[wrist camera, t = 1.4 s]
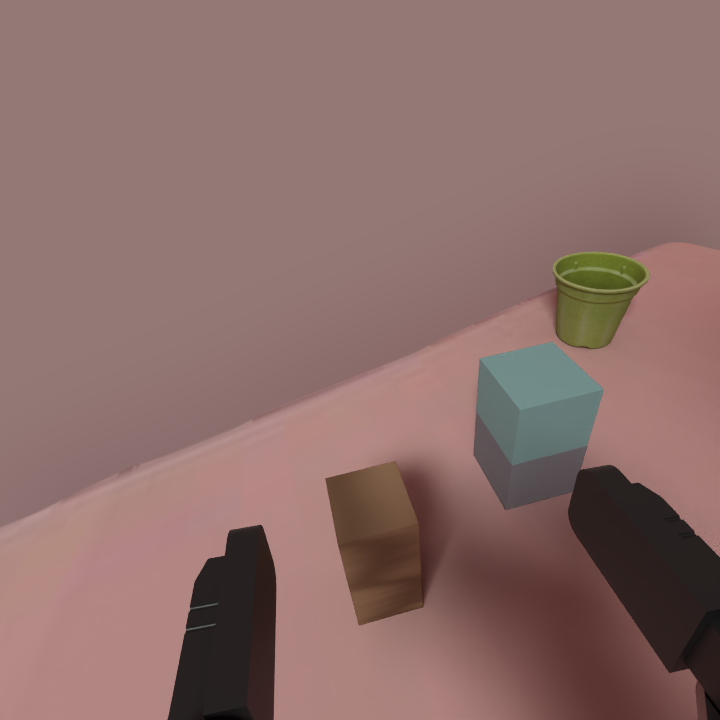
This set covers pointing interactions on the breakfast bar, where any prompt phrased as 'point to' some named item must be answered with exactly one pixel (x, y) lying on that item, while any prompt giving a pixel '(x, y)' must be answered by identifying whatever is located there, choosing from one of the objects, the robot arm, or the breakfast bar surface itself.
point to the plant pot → (594, 295)
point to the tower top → (536, 402)
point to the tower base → (525, 471)
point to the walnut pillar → (377, 541)
